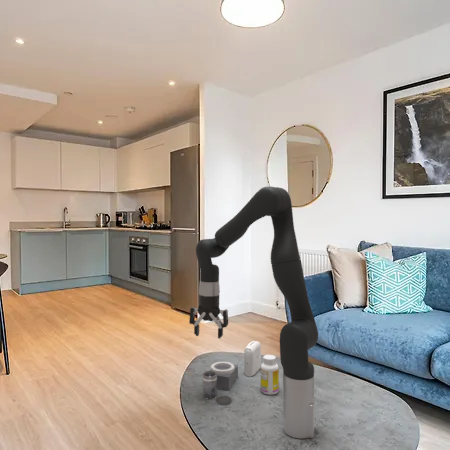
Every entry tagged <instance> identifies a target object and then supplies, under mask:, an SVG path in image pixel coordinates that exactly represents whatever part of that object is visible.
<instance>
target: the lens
mask: <svg viewBox="0 0 450 450" xmlns="http://www.w3.org/2000/svg"><path fill="white" fill-rule="evenodd" d="M217 390H218V389H217V373H216V372H213V371H210V370H208V371H205V372H202V398H204V397H205V398H208V399H207V400H214V399H216V398H217V397H216V396H217V393H218V391H217ZM215 397H216V398H215ZM205 398H204V399H205ZM213 398H214V399H213Z"/></svg>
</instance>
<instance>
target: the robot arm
mask: <svg viewBox="0 0 450 450" xmlns="http://www.w3.org/2000/svg"><path fill="white" fill-rule="evenodd" d="M292 204H293V203H292V199H291V195H290V194H289V192H288V191H287V190H286V189H285V188H282V187H277V186H264V187H261V188H260V189H259V190H258V191H257V192H255V194H254V195H253V196H252V197H251V198H250V199H249V201H248V202H247V203H246V204H245V205H244V206H243V207H242V208H241V209H240V210H239V211H238V213H237V214H236V215H234V216H233V217H232V218H231V219H230V220H228V222H226V223H225V224H224V225H222V226H221V227H220V228H218V230H217V231H216V232H215V234H214V238H204V239H200V240H199V241H198V242H197V244H196V247H195V255H196V259H197V263H198V268H199V285H198V307H196V306H192V307H190V309H189V310H190V311H189V325H193V328H194V331H193V332H194V333H193V334H194V335H195V337H198V336H199V335H200V323H201V322H202V320H203V321H204V322H205V321H206V322H207V321H208V322H214V324H216V326H217V338H218V339H221V338H222V337H223V335H224V328H227V327H228V325H229V310H228V309H226V308H225V309H220V292H221V290H220V288H221V287H220V267H219V266H218V265H217V264H213V261H212V259H215V258H219V257H221V256H222V255H223V254H225V253H226V251H227V250H228V249H229V248H230V246H232V245H233V244H234V243H236V242H237V241H238V240H240V239H241V238H242V237H244V235H245V234H246V233H247V231H248V229H249V228H250V226H251V225H252V224H254V223H255V222H256V221H257V222H258V220H260V219H263V218H264V217H267V216H268V217H271V221H272V222H271V223H272V228H273V240H272V246H271V250H270V264H271V269H272V275H273V279H274V281H275V284H276V286H277V287H278V289H279V291H280V292H281V293H282V295H283V297H284V299H285V300H286V303H287V305H288V309H289V314H290V321H291V322H288V323H285V324H284V325H283V326H282V328H280V329H281V330H280V332H279V333H280V334H279V356H280V364H281V366H282V367H281V368H282V387H283V388H282V408H283V409H282V417H283V418H282V431H283V432H284V433H285V434H286V435H287V436H289V437H292V438H294V439H299V440H301V439H302V440H303V439H309V438H311V439H313V438H314V435H315V427H316V426H315V424H316V421H315V420H316V417H315V415H316V414H315V413H316V412H315V411H316V405H315V404H316V401H315V400H316V396H315V367H314V364H313V363H312V362H310V361H309V350H310V349H312V348H313V347H315V346H316V344H317V343H318V340H319V330H318V326H317V322H316V320H315V317H314V316H315V315H314V313H313V309H312V307H311V303H310V300H309V296H308V295H309V294H308V289H307V285H306V281H305V276H304V269H303V265H302V264H303V263H302V260H301V256H300V252H299V247H298V240H297V236H296V231H295V225H294V224H295V223H294V215H293V205H292ZM197 313H198V314H199V317H198V318H197V319H196V318H195V317H196V314H197ZM220 315H221V317H222V319H221V318H220ZM195 319H196V320H195ZM222 321H223V322H222Z"/></svg>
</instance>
